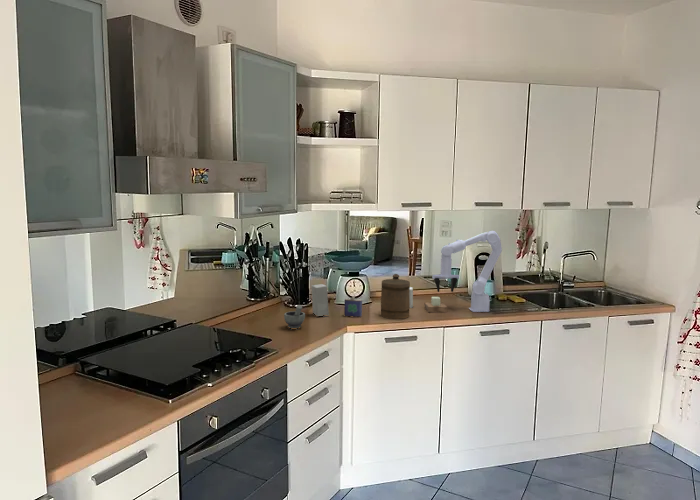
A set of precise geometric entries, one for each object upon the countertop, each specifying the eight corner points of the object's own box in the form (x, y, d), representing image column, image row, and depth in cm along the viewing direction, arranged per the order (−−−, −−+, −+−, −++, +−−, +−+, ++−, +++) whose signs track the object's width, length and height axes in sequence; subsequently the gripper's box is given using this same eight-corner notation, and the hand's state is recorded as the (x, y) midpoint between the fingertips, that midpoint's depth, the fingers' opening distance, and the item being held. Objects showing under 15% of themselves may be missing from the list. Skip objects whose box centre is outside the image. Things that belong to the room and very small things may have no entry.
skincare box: (328, 316, 277) (329, 286, 275) (315, 317, 275) (315, 287, 273) (324, 312, 285) (324, 283, 283) (311, 313, 283) (311, 284, 281)
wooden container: (398, 311, 291) (399, 270, 288) (414, 317, 278) (416, 275, 275) (375, 314, 284) (376, 272, 281) (390, 320, 271) (391, 277, 268)
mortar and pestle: (281, 326, 258) (281, 302, 256) (299, 324, 263) (299, 300, 261) (291, 332, 248) (291, 307, 247) (309, 329, 253) (309, 304, 252)
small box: (412, 305, 304) (413, 287, 302) (412, 307, 298) (413, 289, 297) (398, 305, 305) (398, 286, 303) (398, 307, 299) (398, 288, 298)
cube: (438, 303, 295) (438, 296, 295) (440, 305, 291) (440, 298, 291) (431, 303, 295) (431, 296, 294) (432, 305, 291) (433, 298, 290)
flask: (362, 316, 279) (362, 296, 277) (361, 317, 276) (361, 297, 275) (344, 315, 281) (345, 295, 279) (343, 316, 278) (343, 296, 276)
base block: (442, 307, 299) (442, 302, 298) (446, 312, 289) (447, 306, 289) (424, 307, 298) (424, 302, 298) (428, 312, 288) (428, 306, 288)
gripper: (434, 268, 290) (433, 293, 292) (461, 268, 291) (460, 293, 293) (431, 266, 297) (430, 290, 299) (457, 266, 298) (456, 290, 300)
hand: (445, 291), depth 297 cm, fingers open, 7 cm apart
